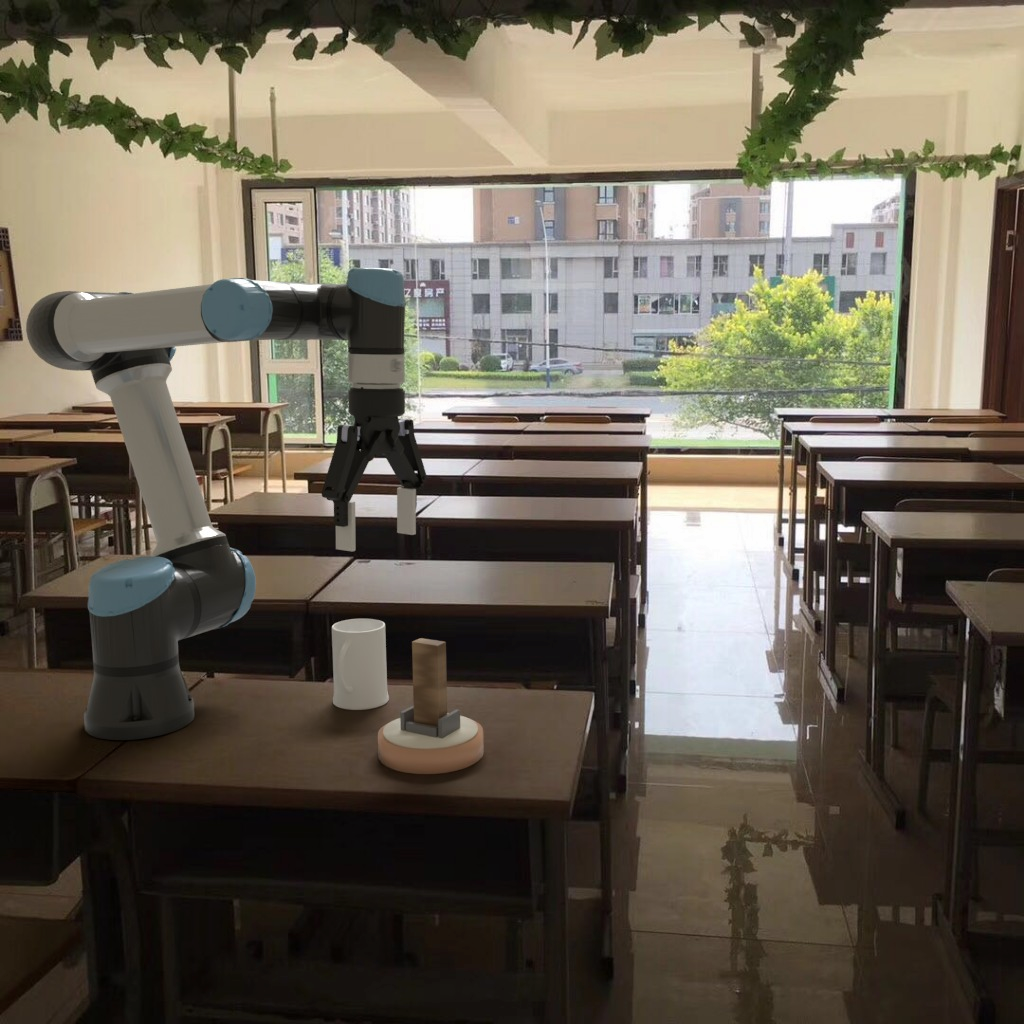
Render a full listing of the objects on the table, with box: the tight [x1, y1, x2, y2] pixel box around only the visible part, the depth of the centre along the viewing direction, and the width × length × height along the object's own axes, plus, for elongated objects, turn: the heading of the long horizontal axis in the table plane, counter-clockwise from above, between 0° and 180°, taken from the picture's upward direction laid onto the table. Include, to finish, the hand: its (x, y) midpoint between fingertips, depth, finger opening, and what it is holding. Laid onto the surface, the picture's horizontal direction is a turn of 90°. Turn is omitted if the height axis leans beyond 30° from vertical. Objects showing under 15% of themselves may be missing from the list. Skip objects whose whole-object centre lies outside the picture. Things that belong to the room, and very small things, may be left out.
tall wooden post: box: [411, 637, 448, 727], centre depth 142 cm, size 4×2×12 cm, turn 61°
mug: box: [331, 618, 390, 711], centre depth 162 cm, size 12×8×12 cm
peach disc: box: [377, 704, 484, 775], centre depth 143 cm, size 14×14×6 cm
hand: (377, 541), depth 148 cm, fingers open, 13 cm apart
